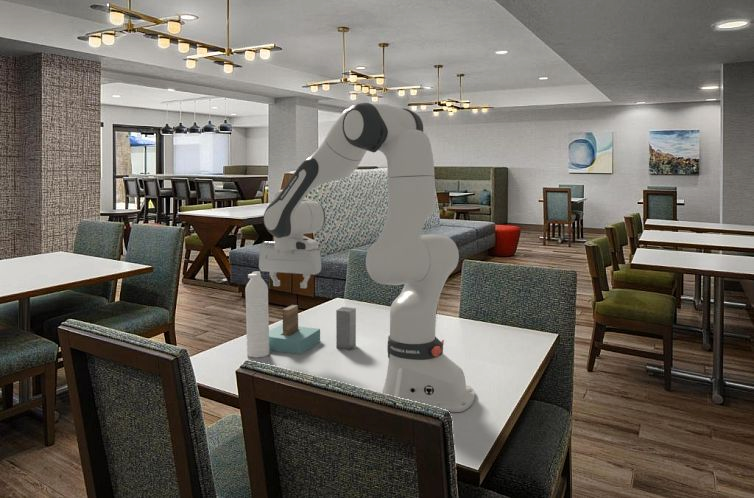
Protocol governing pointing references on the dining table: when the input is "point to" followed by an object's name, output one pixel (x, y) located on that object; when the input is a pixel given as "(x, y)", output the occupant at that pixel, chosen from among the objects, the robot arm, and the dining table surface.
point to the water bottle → (257, 316)
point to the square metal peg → (346, 328)
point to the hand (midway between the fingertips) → (290, 287)
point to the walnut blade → (290, 320)
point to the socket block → (293, 339)
